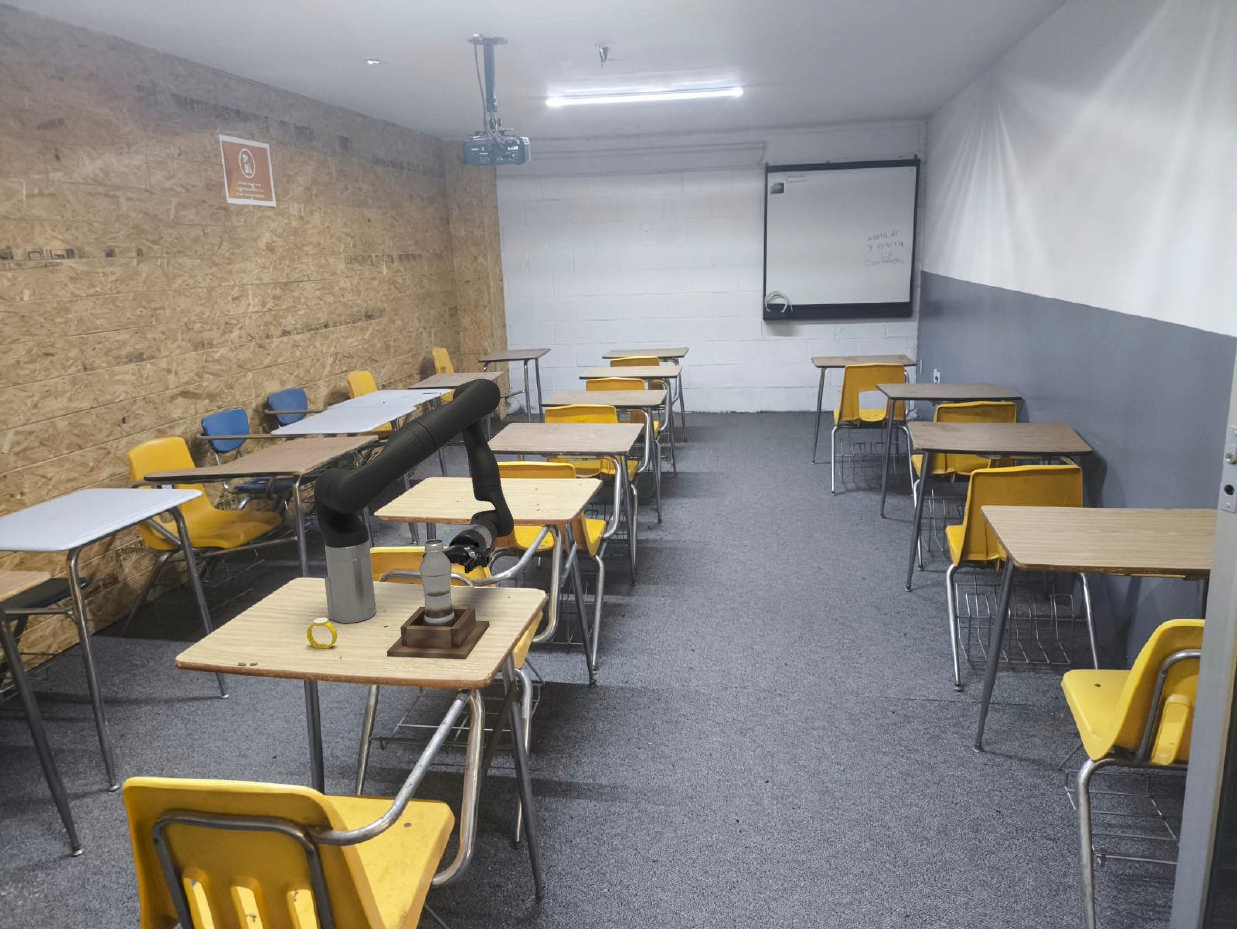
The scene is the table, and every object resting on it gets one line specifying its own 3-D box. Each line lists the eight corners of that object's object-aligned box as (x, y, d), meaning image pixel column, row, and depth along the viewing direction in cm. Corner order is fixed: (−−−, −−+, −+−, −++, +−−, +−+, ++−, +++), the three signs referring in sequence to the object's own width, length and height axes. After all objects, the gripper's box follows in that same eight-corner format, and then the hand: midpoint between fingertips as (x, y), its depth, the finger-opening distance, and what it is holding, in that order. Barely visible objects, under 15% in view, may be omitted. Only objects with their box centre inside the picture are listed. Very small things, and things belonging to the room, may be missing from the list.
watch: (339, 646, 161) (338, 619, 160) (332, 652, 159) (331, 624, 157) (312, 642, 162) (311, 615, 161) (305, 648, 160) (304, 621, 158)
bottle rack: (387, 656, 156) (384, 632, 154) (418, 623, 171) (416, 601, 170) (465, 659, 153) (463, 635, 152) (489, 625, 169) (488, 603, 168)
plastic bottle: (460, 628, 165) (454, 536, 161) (451, 642, 159) (444, 547, 154) (430, 627, 166) (423, 536, 162) (419, 641, 159) (412, 547, 155)
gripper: (440, 528, 181) (412, 550, 165) (500, 529, 179) (478, 552, 163) (442, 559, 182) (415, 584, 167) (502, 560, 180) (480, 586, 165)
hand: (446, 568), depth 165 cm, fingers open, 8 cm apart
